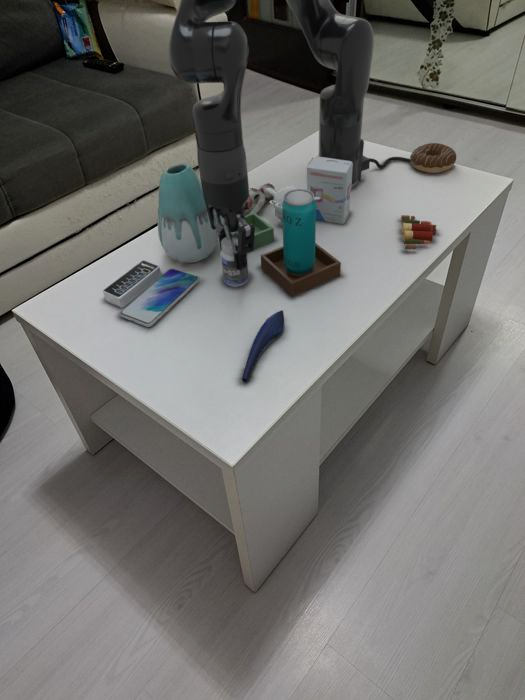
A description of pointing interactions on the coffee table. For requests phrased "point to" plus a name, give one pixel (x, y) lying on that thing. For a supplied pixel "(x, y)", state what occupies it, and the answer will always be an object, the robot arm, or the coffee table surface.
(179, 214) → the vase
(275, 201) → the figurine
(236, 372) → the coffee table surface
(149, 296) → the smartphone
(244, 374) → the tapered navy handle
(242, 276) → the pill bottle
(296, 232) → the beverage can
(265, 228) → the pill tray
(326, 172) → the ink box
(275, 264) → the can tray
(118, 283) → the multiport hub
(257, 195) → the figurine
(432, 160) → the donut
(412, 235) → the ammunition
